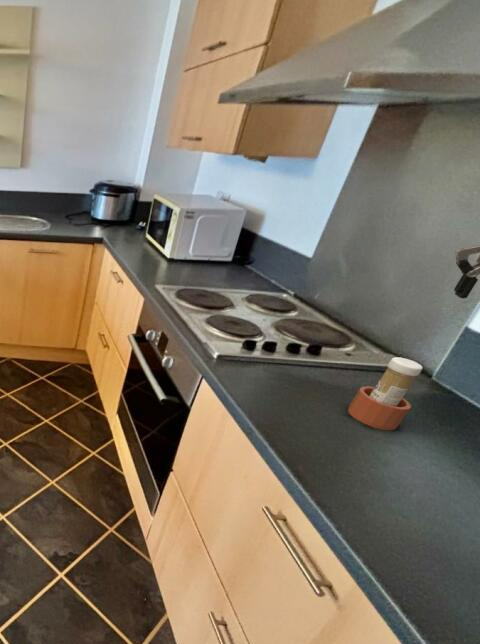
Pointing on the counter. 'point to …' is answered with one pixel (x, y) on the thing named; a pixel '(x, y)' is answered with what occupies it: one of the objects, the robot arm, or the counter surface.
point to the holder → (377, 410)
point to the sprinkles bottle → (396, 381)
